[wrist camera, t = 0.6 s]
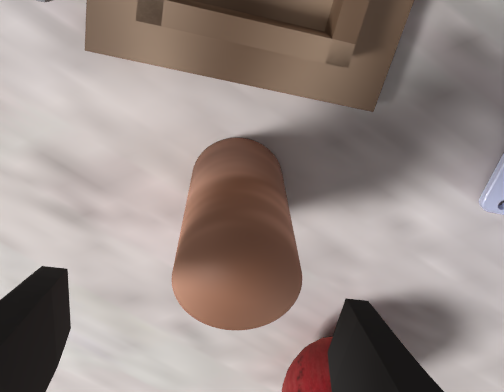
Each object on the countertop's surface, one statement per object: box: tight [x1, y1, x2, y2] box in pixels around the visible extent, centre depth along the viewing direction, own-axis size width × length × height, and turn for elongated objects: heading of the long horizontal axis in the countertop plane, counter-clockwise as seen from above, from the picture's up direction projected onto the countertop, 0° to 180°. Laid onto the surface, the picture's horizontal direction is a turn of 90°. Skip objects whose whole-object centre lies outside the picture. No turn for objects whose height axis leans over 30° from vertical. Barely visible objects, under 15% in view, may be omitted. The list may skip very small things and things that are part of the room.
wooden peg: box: [172, 138, 302, 330], centre depth 17 cm, size 4×4×7 cm
